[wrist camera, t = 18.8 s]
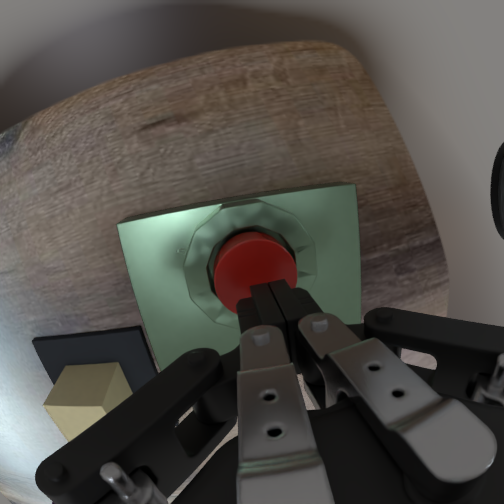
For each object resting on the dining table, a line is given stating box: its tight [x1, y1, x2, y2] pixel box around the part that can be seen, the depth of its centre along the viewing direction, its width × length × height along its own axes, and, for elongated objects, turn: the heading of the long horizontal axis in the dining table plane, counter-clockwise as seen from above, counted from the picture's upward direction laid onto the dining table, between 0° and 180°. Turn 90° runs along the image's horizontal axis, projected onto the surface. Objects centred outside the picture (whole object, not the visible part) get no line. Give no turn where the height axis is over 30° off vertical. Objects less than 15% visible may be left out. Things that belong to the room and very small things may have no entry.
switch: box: [213, 232, 297, 314], centre depth 15 cm, size 4×4×2 cm
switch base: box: [116, 182, 361, 371], centre depth 18 cm, size 14×11×4 cm
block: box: [43, 362, 133, 442], centre depth 18 cm, size 5×5×5 cm
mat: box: [32, 326, 179, 426], centre depth 20 cm, size 10×10×1 cm
